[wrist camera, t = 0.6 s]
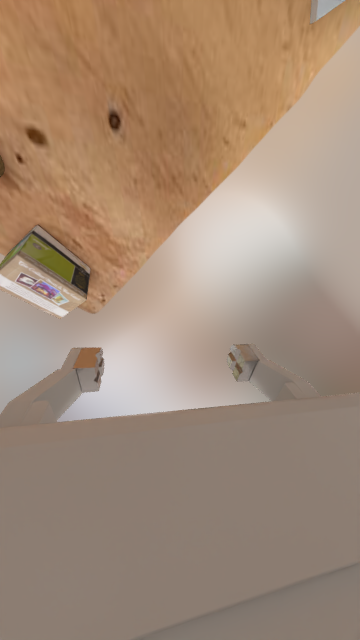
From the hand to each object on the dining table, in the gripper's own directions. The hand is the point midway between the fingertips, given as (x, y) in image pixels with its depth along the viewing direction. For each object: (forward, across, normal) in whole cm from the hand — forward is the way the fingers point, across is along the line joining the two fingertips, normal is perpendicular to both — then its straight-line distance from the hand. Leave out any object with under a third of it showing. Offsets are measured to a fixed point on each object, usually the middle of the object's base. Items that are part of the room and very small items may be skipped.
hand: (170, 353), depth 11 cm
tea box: (+46, +25, +7) cm, 53 cm away
